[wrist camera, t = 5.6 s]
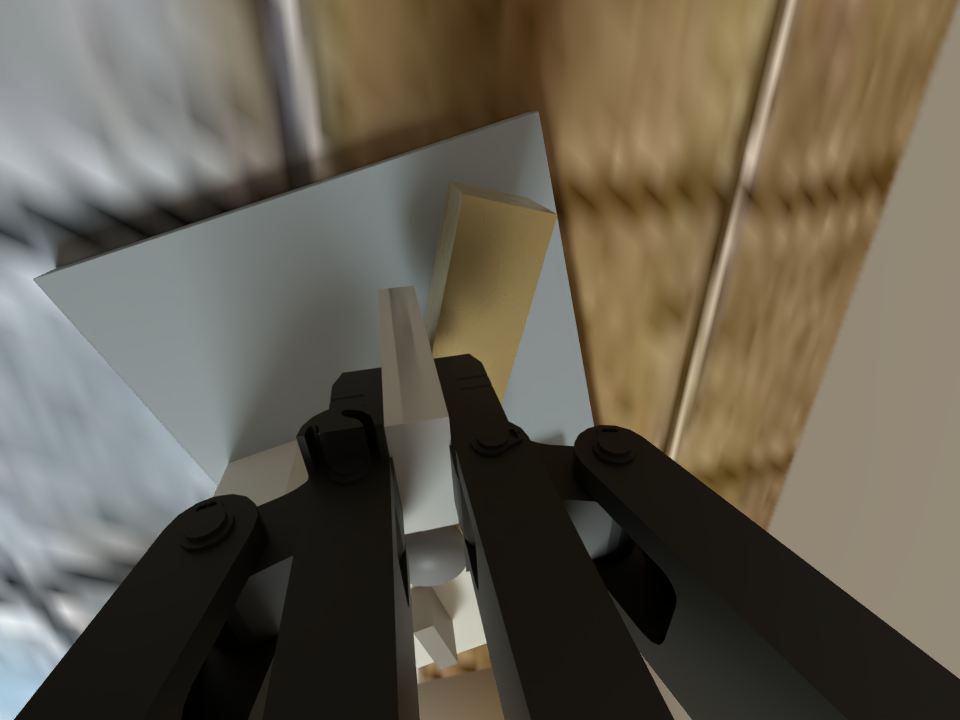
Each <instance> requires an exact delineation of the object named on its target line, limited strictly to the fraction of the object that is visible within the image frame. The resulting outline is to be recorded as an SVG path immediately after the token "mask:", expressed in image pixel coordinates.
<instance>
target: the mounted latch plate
mask: <svg viewBox="0 0 960 720" xmlns="http://www.w3.org/2000/svg"><path fill="white" fill-rule="evenodd" d="M449 180H451V181H455V182H460V183H464V184H469V185H473V186H478V187H482V188H487V189H491V190H496V191H500V192H505V193H509V194H514V195H519V196H523V197H528V198H530V199H532V200H533V201H535V202H537V203H539V204H540V205H542V206H544V207H545V208H547V209H549V210H551V211H552V212H554V213H556V207H555V201H554V196H553V190H552V184H551V179H550V173H549V167H548V162H547V156H546V150H545V145H544V139H543V133H542V128H541V122H540V116H539V111H529V112H526V113H523V114H520V115H517V116H514V117H511V118H508V119H505V120H502V121H499V122H496V123H493V124H490V125H487V126H484V127H481V128H478V129H475V130H472V131H469V132H466V133H463V134H460V135H457V136H454V137H451V138H448V139H445V140H441V141H438V142H435V143H432V144H429V145H426V146H423V147H420V148H417V149H414V150H411V151H408V152H405V153H402V154H399V155H396V156H393V157H390V158H387V159H384V160H381V161H378V162H375V163H372V164H369V165H366V166H363V167H360V168H357V169H354V170H351V171H348V172H345V173H342V174H339V175H336V176H333V177H330V178H327V179H324V180H321V181H318V182H315V183H312V184H309V185H306V186H303V187H300V188H297V189H294V190H291V191H288V192H285V193H282V194H279V195H276V196H273V197H270V198H267V199H264V200H261V201H258V202H255V203H252V204H249V205H246V206H243V207H240V208H237V209H234V210H231V211H228V212H225V213H222V214H219V215H216V216H213V217H210V218H207V219H204V220H201V221H198V222H195V223H192V224H189V225H186V226H183V227H180V228H177V229H173V230H170V231H167V232H164V233H161V234H158V235H155V236H152V237H149V238H146V239H143V240H140V241H137V242H134V243H131V244H128V245H125V246H122V247H119V248H116V249H113V250H110V251H107V252H104V253H101V254H98V255H95V256H92V257H89V258H86V259H83V260H80V261H77V262H74V263H71V264H68V265H65V266H62V267H59V268H56V269H54V270H51V271H49V272H47V273H45V274H43V275H41V276H39V277H37V278H34V279H33V280H34V281H35V282H36V283H37V285H38V286H39V287H40V288H41V289H42V290H43V291H44V292H45V294H46V295H47V296H48V297H49V298H50V299H51V300H52V301H53V302H54V304H55V305H56V306H57V307H58V308H59V309H60V310H61V311H62V313H63V314H64V315H65V316H66V317H67V318H68V319H69V320H70V322H71V323H72V324H73V325H74V326H75V327H76V328H77V329H78V330H79V332H80V333H81V334H82V335H83V336H84V337H85V338H86V339H87V341H88V342H89V343H90V344H91V345H92V346H93V347H94V348H95V350H96V351H97V352H98V353H99V354H100V355H101V356H102V357H103V358H104V360H105V361H106V362H107V363H108V364H109V365H110V366H111V367H112V369H113V370H114V371H115V372H116V373H117V374H118V375H119V376H120V378H121V379H122V380H123V381H124V382H125V383H126V384H127V385H128V387H129V388H130V389H131V390H132V391H133V392H134V393H135V394H136V395H137V397H138V398H139V399H140V400H141V401H142V402H143V403H144V404H145V406H146V407H147V408H148V409H149V410H150V411H151V412H152V413H153V415H154V416H155V417H156V418H157V419H158V420H159V421H160V422H161V423H162V425H163V426H164V427H165V428H166V429H167V430H168V431H169V432H170V434H171V435H172V436H173V437H174V438H175V439H176V440H177V441H178V443H179V444H180V445H181V446H182V447H183V448H184V449H185V450H186V451H187V453H188V454H189V455H190V456H191V457H192V458H193V459H194V460H195V462H196V463H197V464H198V465H199V466H200V467H201V468H202V469H203V471H204V472H205V473H206V474H207V475H208V476H209V477H210V478H211V479H212V481H213V482H214V483H215V484H216V485H217V486H218V487H217V490H216V492H215V494H214V496H213V497H215V496H221V495H228V494H236V495H242V496H247V497H248V498H249V499H250V500H252V501H253V502H254V503H255V504H256V506H260V505H262V504H264V503H267V502H269V501H271V500H274V499H276V498H279V497H281V496H283V495H285V494H287V493H289V492H291V491H293V490H295V489H297V488H298V487H299V486H301V485H302V484H304V483H305V482H306V481H307V480H308V473H307V470H306V467H305V463H304V460H303V457H302V454H301V451H300V448H299V445H298V442H297V439H296V436H297V434H298V432H299V430H300V428H301V426H302V425H304V424H305V423H306V422H307V421H308V420H309V419H311V418H312V417H313V416H315V415H317V414H319V413H321V412H323V411H325V410H328V409H329V404H330V402H331V401H330V397H331V390H332V385H333V384H334V383H335V381H336V380H337V379H338V378H339V377H340V375H341V374H342V373H344V372H351V371H358V370H365V369H372V368H379V367H381V346H380V325H379V303H378V289H387V288H396V287H406V286H414V288H415V292H416V295H417V299H418V303H419V307H420V310H421V314H422V318H423V322H424V319H425V313H426V308H427V302H428V297H429V291H430V285H431V280H432V274H433V269H434V263H435V257H436V252H437V246H438V241H439V235H440V229H441V224H442V218H443V213H444V207H445V201H446V196H447V190H448V184H449ZM556 214H557V213H556ZM502 408H503V410H504V412H505V414H506V416H507V419H508V421H509V422H511V423H513V424H515V425H517V426H519V427H521V428H522V429H523V430H524V432H525V433H526V434H527V435H528V436H529V438H530V440H531V441H534V442H537V443H542V444H549V445H564V446H574V442H575V440H576V439H577V437H578V435H579V434H580V433H581V432H583V431H584V430H586V429H587V428H591V427H594V423H593V417H592V412H591V406H590V400H589V395H588V389H587V383H586V378H585V372H584V366H583V361H582V355H581V349H580V343H579V338H578V332H577V326H576V321H575V315H574V309H573V304H572V298H571V292H570V287H569V281H568V275H567V270H566V264H565V258H564V253H563V247H562V241H561V236H560V230H559V224H558V218H557V219H556V222H555V226H554V229H553V232H552V236H551V239H550V243H549V246H548V249H547V253H546V256H545V260H544V263H543V266H542V270H541V273H540V276H539V280H538V283H537V287H536V290H535V293H534V297H533V300H532V304H531V307H530V310H529V314H528V317H527V320H526V324H525V327H524V331H523V334H522V337H521V341H520V344H519V347H518V351H517V354H516V358H515V361H514V364H513V368H512V371H511V375H510V378H509V381H508V385H507V388H506V391H505V395H504V398H503V402H502ZM405 544H406V549H407V554H408V559H409V573H410V587H411V602H412V616H413V631H414V646H415V660H416V668H419V667H422V666H424V665H427V664H430V663H433V662H435V664H436V665H437V666H438V668H439V669H443V668H446V667H449V666H452V665H454V664H457V663H458V659H457V654H458V653H460V652H463V651H466V650H469V649H472V648H474V647H477V646H480V645H483V644H485V643H487V642H486V638H485V634H484V630H483V625H482V621H481V617H480V613H479V608H478V604H477V600H476V596H475V591H474V587H473V583H472V579H471V574H470V571H468V572H466V563H465V552H464V540H463V534H462V533H461V531H460V530H459V529H458V528H457V527H455V526H453V525H449V526H445V527H440V528H435V529H430V530H426V531H418V532H413V533H409V534H405Z"/></svg>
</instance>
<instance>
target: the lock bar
mask: <svg viewBox="0 0 960 720" xmlns="http://www.w3.org/2000/svg"><path fill="white" fill-rule="evenodd" d="M557 216H558V215H557V214H556V213H554V212H552V211H551V210H549V209H547V208H545V207H544V206H542V205H540V204H539V203H537V202H535V201H533V200H532V199H530V198H528V197H523V196H519V195H514V194H509V193H505V192H500V191H496V190H491V189H487V188H482V187H478V186H473V185H469V184H464V183H460V182H455V181H451V180H449V184H448V190H447V196H446V201H445V207H444V213H443V218H442V224H441V229H440V235H439V241H438V246H437V252H436V257H435V263H434V269H433V274H432V280H431V285H430V291H429V297H428V302H427V308H426V313H425V319H424V325H425V329H426V333H427V337H428V340H429V344H430V348H431V352H432V355H433V359H434V358H441V357H448V356H455V355H462V354H471V355H472V356H473V357H475V358H476V359H478V360H479V361H481V362H482V364H483V366H484V368H485V370H486V373H487V376H488V377H489V379H490V381H491V384H492V387H493V388H494V390H495V392H496V394H497V397H498V399H499V401H500V403H501V405H502V402H503V398H504V395H505V391H506V388H507V385H508V381H509V378H510V375H511V371H512V368H513V364H514V361H515V358H516V354H517V351H518V347H519V344H520V341H521V337H522V334H523V331H524V327H525V324H526V320H527V317H528V314H529V310H530V307H531V304H532V300H533V297H534V293H535V290H536V287H537V283H538V280H539V276H540V273H541V270H542V266H543V263H544V260H545V256H546V253H547V249H548V246H549V243H550V239H551V236H552V232H553V229H554V226H555V222H556V219H557ZM458 521H459V519H458ZM453 526H455V527H457V528H458V529H459V530H460V531H461V528H460V524H454V525H453ZM461 533H462V531H461Z"/></svg>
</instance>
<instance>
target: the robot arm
mask: <svg viewBox="0 0 960 720" xmlns="http://www.w3.org/2000/svg"><path fill="white" fill-rule="evenodd" d="M378 303H379V325H380V346H381V367H379V368H372V369H365V370H358V371H351V372H344V373H342V374H341V375H340V377H339V378H338V379H337V380H336V381H335V383H334V384H333V385H332V390H331V397H330V401H331V402H330V404H329V409H328V410H325V411H323V412H321V413H319V414H317V415H315V416H313V417H312V418H311V419H309V420H308V421H307V422H306V423H305V424H304V425H302V426H301V428H300V430H299V432H298V434H297V436H296V439H297V442H298V445H299V448H300V451H301V454H302V457H303V460H304V463H305V467H306V470H307V473H308V480H307V481H306V482H305V483H304V484H302V485H301V486H299V487H298V488H297V489H295V490H293V491H291V492H289V493H287V494H285V495H283V496H281V497H279V498H276V499H274V500H271V501H269V502H267V503H264V504H262V505H260V506H256V504H255V503H254V502H253V501H252V500H250V499H249V498H248V497H247V496H242V495H236V494H228V495H221V496H215V497H212V498H210V499H207V500H204V501H202V502H199V503H197V504H195V505H194V506H192V507H190V508H189V509H187V510H186V511H184V512H183V513H181V514H179V515H178V516H177V517H176V518H175V519H174V520H173V521H172V522H171V523H170V524H169V525H168V526H167V527H166V528H165V529H164V530H163V532H162V533H161V534H160V535H159V537H158V538H157V539H156V540H155V542H154V543H153V544H152V546H151V547H150V548H149V549H148V551H147V552H146V553H145V554H144V556H143V557H142V558H141V559H140V561H139V562H138V563H137V565H136V566H135V567H134V568H133V570H132V571H131V572H130V573H129V575H128V576H127V577H126V578H125V580H124V581H123V582H122V584H121V585H120V586H119V587H118V589H117V590H116V591H115V592H114V594H113V595H112V596H111V597H110V599H109V600H108V601H107V603H106V604H105V605H104V606H103V608H102V609H101V610H100V611H99V613H98V614H97V615H96V616H95V618H94V619H93V620H92V621H91V623H90V624H89V625H88V627H87V628H86V629H85V630H84V632H83V633H82V634H81V635H80V637H79V638H78V639H77V640H76V642H75V643H74V644H73V646H72V647H71V648H70V649H69V651H68V652H67V653H66V654H65V656H64V657H63V658H62V659H61V661H60V662H59V663H58V665H57V666H56V667H55V668H54V670H53V671H52V672H51V673H50V675H49V676H48V677H47V678H46V680H45V681H44V682H43V684H42V685H41V686H40V687H39V689H38V690H37V691H36V692H35V694H34V695H33V696H32V697H31V699H30V700H29V701H28V703H27V704H26V705H25V706H24V708H23V709H22V710H21V711H20V713H19V714H18V715H17V716H16V718H15V719H14V720H420V719H419V704H418V690H417V675H416V660H415V646H414V631H413V616H412V602H411V587H410V573H409V559H408V554H407V549H406V544H405V534H409V533H413V532H418V531H426V530H430V529H435V528H440V527H445V526H449V525H454V524H460V528H461V531H462V534H463V540H464V552H465V563H466V572H468V571H470V574H471V579H472V583H473V587H474V591H475V596H476V600H477V604H478V608H479V613H480V617H481V621H482V625H483V630H484V634H485V638H486V642H487V647H488V651H489V655H490V659H491V663H492V668H493V672H494V676H495V680H496V685H497V689H498V693H499V697H500V702H501V706H502V710H503V714H504V719H505V720H674V718H673V716H672V714H671V712H670V711H669V709H668V707H667V705H666V703H665V701H664V699H663V697H662V695H661V693H660V691H659V689H658V687H657V685H656V683H655V682H654V679H653V677H652V676H651V674H650V672H649V670H648V668H647V666H646V664H645V662H644V660H643V658H642V656H643V657H644V658H645V660H646V661H647V662H648V663H649V665H650V666H651V667H652V668H653V670H654V671H655V672H656V674H657V675H658V676H659V678H660V679H661V680H662V681H663V683H664V684H665V685H666V686H667V688H668V689H669V690H670V692H671V693H672V694H673V696H674V697H675V698H676V699H677V701H678V702H679V703H680V705H681V706H682V707H683V708H684V709H685V711H686V712H687V714H688V715H689V716H690V717H691V719H692V720H960V679H959V678H957V677H956V676H955V675H954V674H952V673H951V672H950V671H948V670H947V669H946V668H944V667H943V666H942V665H940V664H939V663H938V662H937V661H935V660H934V659H933V658H931V657H930V656H929V655H927V654H926V653H925V652H923V651H922V650H921V649H920V648H918V647H917V646H916V645H914V644H913V643H912V642H910V641H909V640H908V639H906V638H905V637H904V636H903V635H901V634H900V633H898V632H897V631H896V630H895V629H893V628H892V627H891V626H889V625H888V624H887V623H885V622H884V621H883V620H881V619H880V618H879V617H878V616H876V615H875V614H874V613H872V612H871V611H870V610H869V609H867V608H866V607H865V606H863V605H862V604H861V603H859V602H858V601H857V600H855V599H854V598H853V597H851V596H850V595H849V594H848V593H846V592H845V591H844V590H842V589H841V588H840V587H838V586H837V585H836V584H834V583H833V582H832V581H830V580H829V579H828V578H826V577H825V576H824V575H823V574H821V573H820V572H819V571H817V570H816V569H815V568H814V567H812V566H811V565H810V564H808V563H807V562H806V561H804V560H803V559H802V558H800V557H799V556H798V555H796V554H795V553H794V552H792V551H791V550H790V549H789V548H787V547H786V546H785V545H783V544H782V543H781V542H779V541H778V540H777V539H776V538H774V537H773V536H772V535H770V534H769V533H768V532H766V531H765V530H764V529H762V528H761V527H760V526H759V525H757V524H756V523H755V522H753V521H752V520H751V519H749V518H748V517H747V516H745V515H744V514H743V513H742V512H740V511H739V510H738V509H736V508H735V507H734V506H732V505H731V504H730V503H728V502H727V501H726V500H725V499H723V498H722V497H721V496H719V495H718V494H717V493H715V492H714V491H713V490H711V489H710V488H709V487H707V486H706V485H705V484H704V483H702V482H701V481H700V480H698V479H697V478H696V477H694V476H693V475H692V474H690V473H689V472H688V471H687V470H685V469H684V468H683V467H681V466H680V465H679V464H677V463H676V462H675V461H673V460H672V459H671V458H670V457H668V456H667V455H666V454H664V453H663V452H662V451H660V450H659V449H658V448H656V447H655V446H654V445H653V444H651V443H650V442H649V441H647V440H646V439H645V438H643V437H642V436H640V435H638V434H637V433H635V432H633V431H631V430H629V429H625V428H622V427H618V426H610V425H599V426H595V427H591V428H587V429H586V430H584V431H583V432H581V433H580V434H579V435H578V437H577V439H576V440H575V442H574V446H564V445H549V444H542V443H537V442H534V441H531V440H530V438H529V436H528V435H527V434H526V433H525V432H524V430H523V429H522V428H521V427H519V426H517V425H515V424H513V423H511V422H509V421H508V419H507V416H506V414H505V412H504V410H503V408H502V405H501V403H500V401H499V399H498V397H497V394H496V392H495V390H494V388H493V387H492V384H491V381H490V379H489V377H488V376H487V373H486V370H485V368H484V366H483V364H482V362H481V361H479V360H478V359H476V358H475V357H473V356H472V355H471V354H462V355H455V356H448V357H441V358H434V359H433V355H432V352H431V348H430V344H429V340H428V337H427V333H426V329H425V325H424V322H423V318H422V314H421V310H420V307H419V303H418V299H417V295H416V292H415V288H414V286H406V287H396V288H387V289H378ZM458 519H459V521H458ZM640 653H641V654H642V656H641V654H640Z"/></svg>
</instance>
